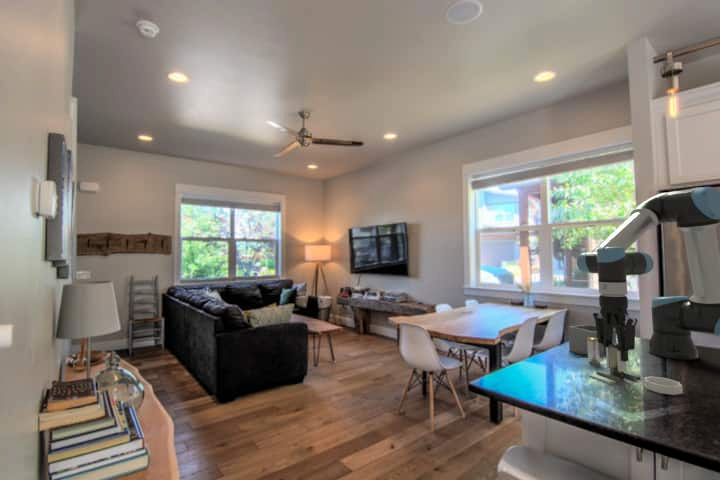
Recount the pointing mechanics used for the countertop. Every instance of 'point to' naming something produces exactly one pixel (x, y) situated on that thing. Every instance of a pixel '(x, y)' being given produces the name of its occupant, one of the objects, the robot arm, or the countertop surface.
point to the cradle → (616, 378)
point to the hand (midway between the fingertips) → (616, 369)
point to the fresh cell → (593, 350)
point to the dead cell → (614, 360)
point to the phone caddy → (584, 338)
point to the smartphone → (580, 353)
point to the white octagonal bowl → (663, 385)
